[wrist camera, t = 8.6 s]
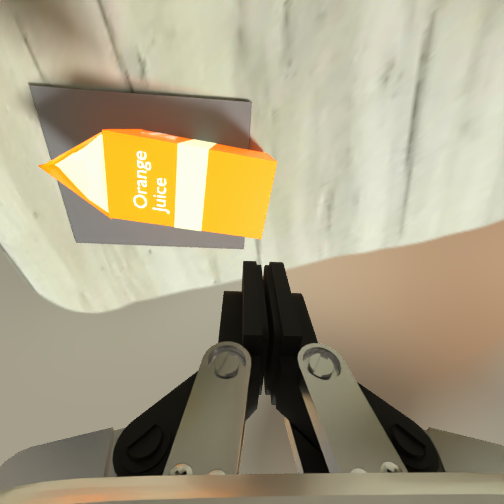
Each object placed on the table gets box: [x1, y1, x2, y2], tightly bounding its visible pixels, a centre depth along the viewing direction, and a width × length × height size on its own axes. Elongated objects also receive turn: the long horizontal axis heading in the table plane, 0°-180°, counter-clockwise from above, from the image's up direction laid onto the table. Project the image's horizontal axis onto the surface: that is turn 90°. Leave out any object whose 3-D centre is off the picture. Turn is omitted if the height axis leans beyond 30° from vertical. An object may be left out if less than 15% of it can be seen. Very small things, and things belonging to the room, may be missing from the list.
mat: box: [29, 85, 252, 249], centre depth 31 cm, size 18×23×1 cm
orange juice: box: [38, 129, 277, 239], centre depth 26 cm, size 8×9×20 cm
